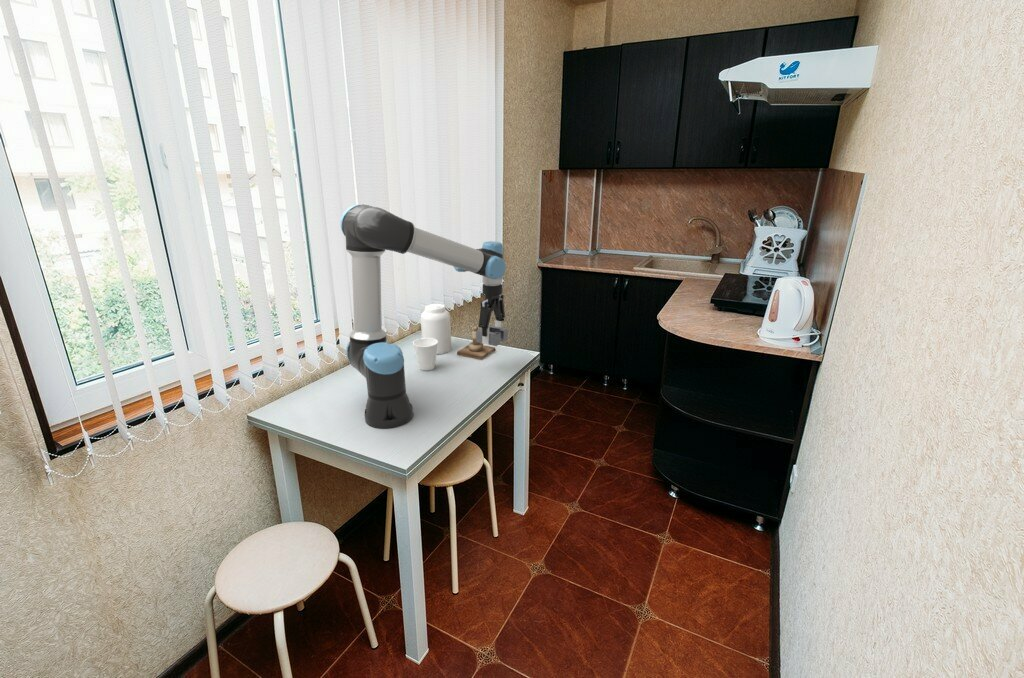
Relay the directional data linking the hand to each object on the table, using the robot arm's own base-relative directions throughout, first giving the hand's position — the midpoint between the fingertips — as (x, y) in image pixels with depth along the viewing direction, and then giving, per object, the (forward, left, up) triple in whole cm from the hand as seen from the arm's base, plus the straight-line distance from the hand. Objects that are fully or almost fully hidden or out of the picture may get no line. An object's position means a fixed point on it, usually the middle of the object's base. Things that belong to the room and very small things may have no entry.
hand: (491, 340), depth 186 cm
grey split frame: (0, 0, 0) cm, 0 cm away
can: (+5, +31, -12) cm, 33 cm away
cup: (-13, +23, -12) cm, 29 cm away
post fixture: (+10, +14, -12) cm, 21 cm away
